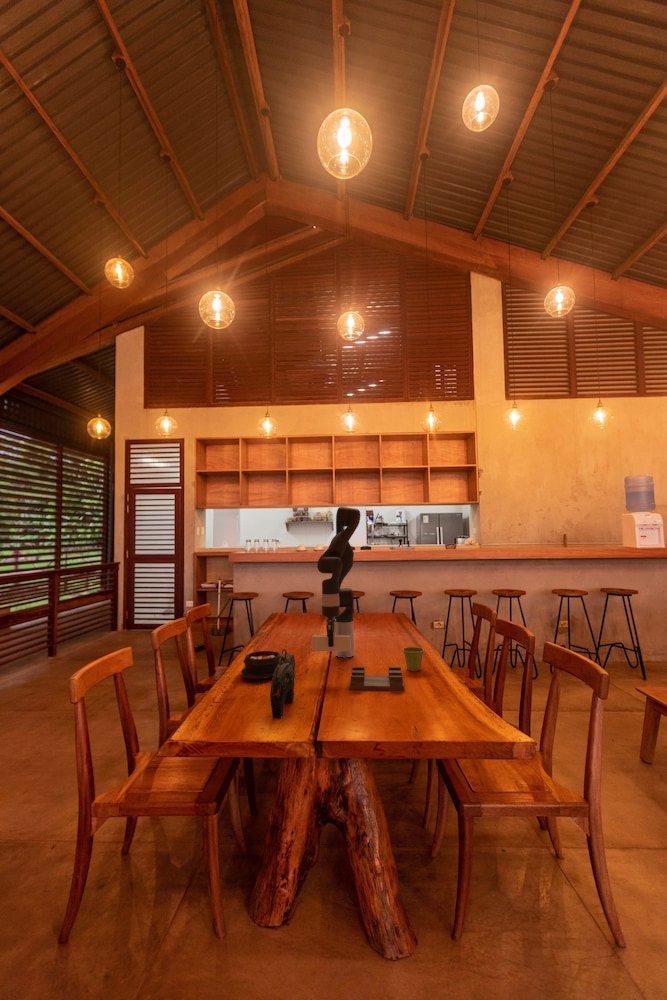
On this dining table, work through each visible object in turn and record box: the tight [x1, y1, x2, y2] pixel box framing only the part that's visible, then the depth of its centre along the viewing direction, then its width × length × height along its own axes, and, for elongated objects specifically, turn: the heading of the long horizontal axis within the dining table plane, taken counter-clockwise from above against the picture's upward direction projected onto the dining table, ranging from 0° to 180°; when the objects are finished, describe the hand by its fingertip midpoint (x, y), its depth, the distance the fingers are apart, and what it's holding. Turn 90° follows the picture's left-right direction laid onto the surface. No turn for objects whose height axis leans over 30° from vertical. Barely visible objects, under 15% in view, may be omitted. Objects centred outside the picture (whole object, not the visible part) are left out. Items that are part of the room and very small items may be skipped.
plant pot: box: [402, 646, 425, 672], centre depth 210 cm, size 9×9×9 cm
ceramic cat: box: [269, 648, 296, 720], centre depth 166 cm, size 20×6×20 cm, turn 171°
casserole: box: [240, 650, 281, 680], centre depth 207 cm, size 25×19×8 cm
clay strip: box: [311, 634, 351, 652], centre depth 200 cm, size 2×16×6 cm, turn 85°
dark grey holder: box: [349, 666, 405, 691], centre depth 190 cm, size 14×21×5 cm, turn 85°
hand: (331, 645), depth 200 cm, fingers closed on clay strip, 2 cm apart
